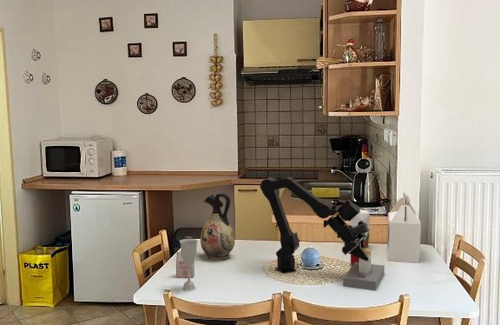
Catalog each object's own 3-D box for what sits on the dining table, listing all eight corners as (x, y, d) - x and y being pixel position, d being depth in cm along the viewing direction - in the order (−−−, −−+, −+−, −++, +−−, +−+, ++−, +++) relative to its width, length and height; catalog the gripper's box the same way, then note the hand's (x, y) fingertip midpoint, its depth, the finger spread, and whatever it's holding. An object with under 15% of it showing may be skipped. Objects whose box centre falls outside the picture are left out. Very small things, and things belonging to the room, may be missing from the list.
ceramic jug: (194, 260, 239) (193, 192, 236) (209, 251, 254) (209, 187, 250) (229, 264, 233) (229, 195, 230) (243, 255, 247) (243, 190, 244)
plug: (358, 276, 212) (359, 250, 211) (360, 273, 216) (361, 247, 215) (368, 277, 211) (369, 251, 210) (370, 274, 215) (371, 248, 213)
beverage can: (366, 268, 228) (367, 240, 227) (350, 267, 230) (351, 239, 228) (366, 264, 235) (367, 237, 234) (350, 263, 236) (351, 236, 235)
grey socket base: (343, 286, 206) (343, 277, 205) (354, 270, 226) (355, 261, 226) (375, 290, 201) (375, 281, 201) (384, 273, 222) (384, 265, 221)
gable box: (419, 263, 237) (422, 199, 234) (388, 261, 240) (390, 198, 237) (415, 250, 259) (418, 191, 256) (387, 248, 262) (389, 190, 259)
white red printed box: (177, 274, 219) (177, 250, 218) (194, 275, 219) (194, 250, 218) (176, 277, 215) (176, 253, 214) (193, 278, 215) (193, 253, 214)
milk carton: (348, 245, 266) (349, 205, 264) (366, 245, 266) (367, 205, 264) (351, 250, 257) (352, 208, 255) (370, 250, 257) (371, 208, 255)
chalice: (180, 285, 206) (179, 238, 204) (198, 284, 207) (198, 238, 205) (179, 292, 199) (179, 243, 197) (198, 291, 199) (197, 243, 197)
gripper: (351, 220, 204) (380, 252, 201) (360, 211, 221) (387, 240, 218) (330, 238, 208) (358, 270, 205) (341, 228, 225) (367, 257, 222)
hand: (368, 259), depth 212 cm, fingers closed on plug, 4 cm apart
